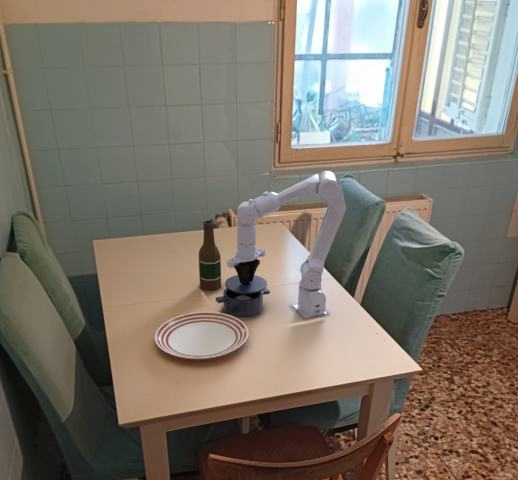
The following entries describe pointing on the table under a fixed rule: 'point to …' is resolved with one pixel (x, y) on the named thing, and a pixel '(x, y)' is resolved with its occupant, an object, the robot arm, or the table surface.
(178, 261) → the table surface
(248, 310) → the pot
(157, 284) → the table surface
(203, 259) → the beer bottle
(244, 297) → the block
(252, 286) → the lid
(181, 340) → the dinner plate
